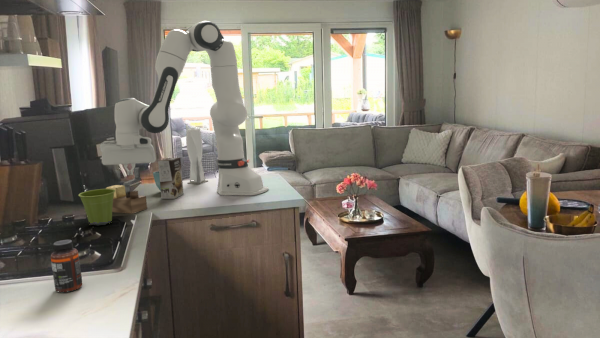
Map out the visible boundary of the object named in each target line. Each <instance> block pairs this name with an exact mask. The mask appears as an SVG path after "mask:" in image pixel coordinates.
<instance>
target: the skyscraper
mask: <svg viewBox="0 0 600 338" xmlns="http://www.w3.org/2000/svg"><path fill="white" fill-rule="evenodd" d="M185 127H186V128H185V132H186V134H185V135H186V138H185V139H186V141H185V142H186V152H187V156H188V160H189V163H190V167H189V169H190V170H189V181H188V182H187V184H188V185H193V184H194V185H201V184H204V183H207V182H209V180H207V179H205V172H204V168H203V164H202V159H203V152H204V151H203V150H204V149H203V145H204V144H203V139H202V137H203V136H202V132H201V131H202V130H201V128H200V127H199V126H197V127H196V126H191V127H189V125H188V123H186V124H185ZM191 180H194V181H191Z"/></svg>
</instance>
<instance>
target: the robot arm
mask: <svg viewBox="0 0 600 338" xmlns="http://www.w3.org/2000/svg"><path fill="white" fill-rule="evenodd" d="M203 51H204V52H206V53H207V54H208V57H209V63H210V64H209V65H210V74H211V75H210V76H211V77H210V78H211V86H212V88H213V92H214V94H215V100H216V102H215V103H213V105H212V106H211V107H210V110H209V115H210V119H211V122H212V126H213V131H214V134H215V140H216V148H217V149H216V150H217V159H216V161H217V170H218V182H217V189H216V193H218V194H219V196H257V195H260V194H263V193H265V192H268V191H269V187H268V186H264V182H263V179H262V176H261V174H259V173H257V172H256V171H255V170H253V169H252V168H251V167H250V166H249V164H248V163H249V162H250V159H246V158H245V152H244V150H245V149H244V140H243V139H244V138H243V137H242V135H241V130H240V127H239V126H240V125H242V124H243V123H244V122H245V121H246V120H247V119H246V118H248V117H247V116H248V114H247V113H248V112H247V109H246V106H245V104H244V99H243V96H242V92H241V87H240V84H239V83H240V82H239V71H238V60H237V56H236V55H237V54H236V50H235V45H234V43H233V42H231V40H228V39H225V37H224V36H223V34H222V32H221V29H220V28H219V27H218V25H217V24H216V23H214V22H212V21H209V20H202V21H200V22H196V23H194V24H193V25H192V26H190V27H188V28H186V29H185V30H182V29H178V28H177V29H176V28H175V29H171V30H169V31H168V33H167V35H166V36H165V38H164V40H163V41H162V43H161V45H160V48H159V51H158V54H157V56H156V60H155V67H154V69H155V72H156V74H157V78H158V81H157V86H156V89H155V93H154V94H153V98H152V100H151V101H152V102H151V103H150V105H149V104H146V103H144V102H141V100H140V101H139V100H137V99H136V98H135V97H126V98H122V99H118V100H117V101H116V102H115V104H114V123H115V126H116V128H115V140H104V141H103V142H101V143H100V144H99V150H100V152H101V164H102V165H103V166H114V165H115V166H116V165H123V168H124V170H125V171H126V175H127V176H134V168H136V164H150V163H151V164H153V163H155V162H156V161H157V158H156V151H155V148H154V145H153V144H152V138H151V137H147V136H145V135H140V130H145V131H147V132H149V133H151V134H158V133H161V132H163V131H165V130H166V129H167V127H168V125H169V122H170V115H169V108H170V104H171V101H172V99H173V95H174V91H175V87H176V86H177V83H178V81H179V79H180V77H181V74H182V72H183V70H184V68H185V66H186V62H187V59H188V57H189V55H190V53H191V52H203ZM130 164H131V169H130V170H129V168H128V166H129V165H130Z"/></svg>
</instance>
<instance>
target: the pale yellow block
mask: <svg viewBox="0 0 600 338" xmlns="http://www.w3.org/2000/svg"><path fill="white" fill-rule="evenodd" d="M105 189H114V190H115V192H114V198H120V197H124V196H126V193H125V186H123V184H121V185H120V184H115V185H111V186H107V187H105Z"/></svg>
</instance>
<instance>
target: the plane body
mask: <svg viewBox="0 0 600 338" xmlns="http://www.w3.org/2000/svg"><path fill="white" fill-rule="evenodd" d="M147 203H148V202H147V196H146V195H139V191H138V190H130V197H128V198H126V196H124V197H120V198H113V206H112V213H119V214H131V215H132V214H136V213H138V212H141V211H145V210H148V204H147Z"/></svg>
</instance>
